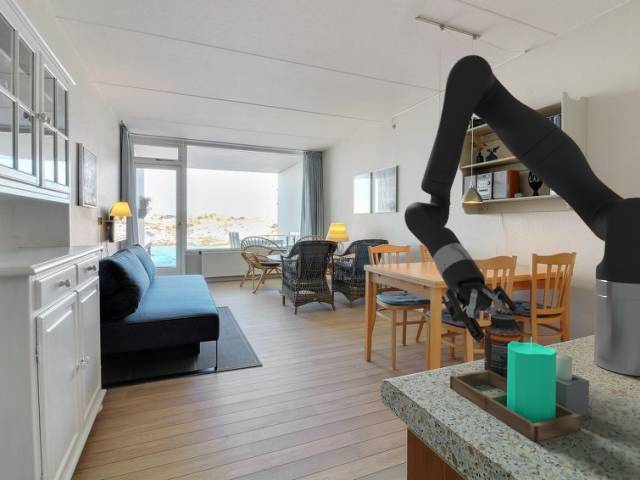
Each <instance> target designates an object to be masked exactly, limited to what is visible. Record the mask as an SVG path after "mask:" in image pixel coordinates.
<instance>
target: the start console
mask: <svg viewBox="0 0 640 480" xmlns="http://www.w3.org/2000/svg"><path fill="white" fill-rule="evenodd" d="M556 403H557V404H559V405H561V406H563V407H565V408H567V409H569V410H571V411H573V412H575V413H577V414H579V415H581V417H583V416H587V415H589V414H590V413H589V411H590V409H589V407H590V406H589V405H590V380H588V379H586V378H583V377H580V376H578V375H576V374H573V373H572V381H569V382H563V381H561V380H559V379H556Z"/></svg>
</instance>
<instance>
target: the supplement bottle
mask: <svg viewBox="0 0 640 480" xmlns="http://www.w3.org/2000/svg"><path fill="white" fill-rule="evenodd" d="M489 321H490V324H488V325H487V326H486V327H485V328H484V334H485V336H484V347H483V348H484V349H483V350H484V353H483V355H484V364H483V365H484V366H483V367H484V368H483V369H484V371H485V370H490V371H492V372H494V373H496V374H498V375H500V376H502V377H504V378H506V379H507V373H508V344H509V343H510V342H512V341H515V342H520V343H522V334H521V332H520V331H519V330H518V329H517V328H516V327H515V321H516V317H515V316H513V315H512V316H510V315H505V314H491V315H490V320H489Z"/></svg>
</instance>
